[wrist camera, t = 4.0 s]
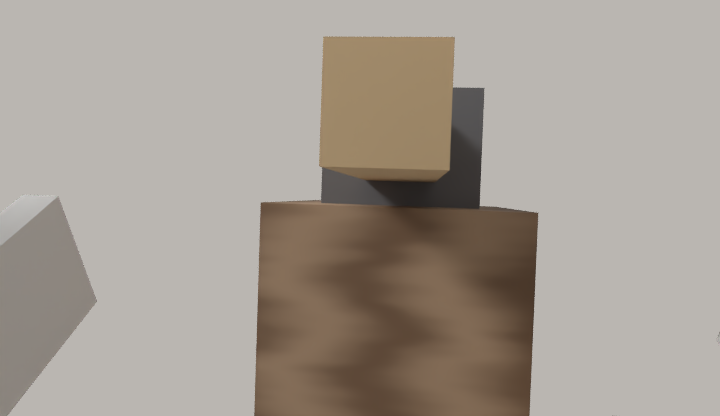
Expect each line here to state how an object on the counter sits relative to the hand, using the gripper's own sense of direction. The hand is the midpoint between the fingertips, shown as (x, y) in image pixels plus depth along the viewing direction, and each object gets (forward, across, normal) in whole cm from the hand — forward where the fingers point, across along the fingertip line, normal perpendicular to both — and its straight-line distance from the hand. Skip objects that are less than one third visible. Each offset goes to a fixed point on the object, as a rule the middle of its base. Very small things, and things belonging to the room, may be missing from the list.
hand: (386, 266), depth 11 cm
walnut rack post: (+1, 0, -37) cm, 37 cm away
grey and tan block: (+13, -1, -7) cm, 14 cm away
